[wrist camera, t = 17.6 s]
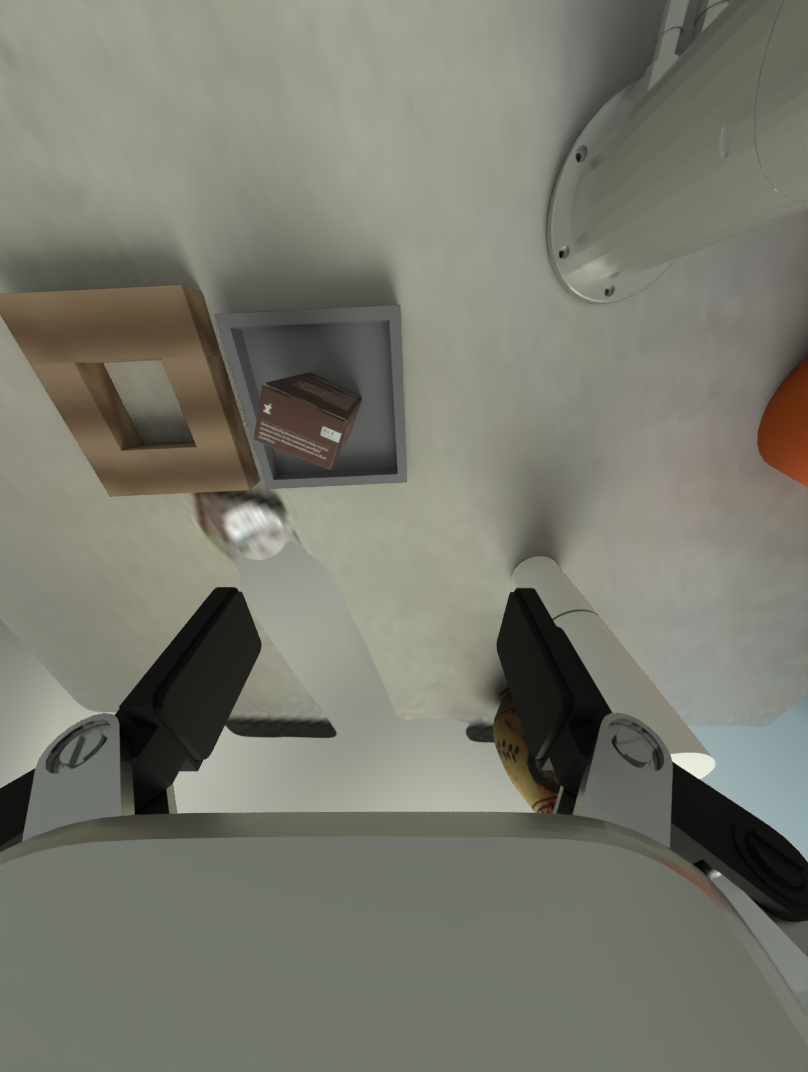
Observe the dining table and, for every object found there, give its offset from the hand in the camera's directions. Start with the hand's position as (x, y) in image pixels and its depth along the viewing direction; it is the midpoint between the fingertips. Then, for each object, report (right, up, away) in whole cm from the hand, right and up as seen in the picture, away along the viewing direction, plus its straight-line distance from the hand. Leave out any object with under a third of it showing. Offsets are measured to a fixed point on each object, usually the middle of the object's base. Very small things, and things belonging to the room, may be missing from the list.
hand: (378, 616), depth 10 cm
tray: (-7, +17, +21) cm, 28 cm away
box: (-7, +17, +21) cm, 28 cm away
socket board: (-25, +17, +21) cm, 37 cm away
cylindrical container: (+21, -3, +34) cm, 40 cm away
